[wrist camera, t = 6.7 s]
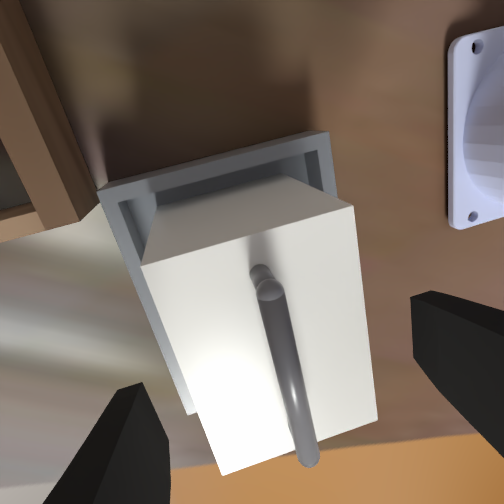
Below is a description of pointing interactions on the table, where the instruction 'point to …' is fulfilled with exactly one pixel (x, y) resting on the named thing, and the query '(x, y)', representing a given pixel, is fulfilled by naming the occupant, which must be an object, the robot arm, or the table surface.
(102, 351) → the table surface
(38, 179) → the walnut bay
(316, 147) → the slate drawer housing
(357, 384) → the white drawer with handle
